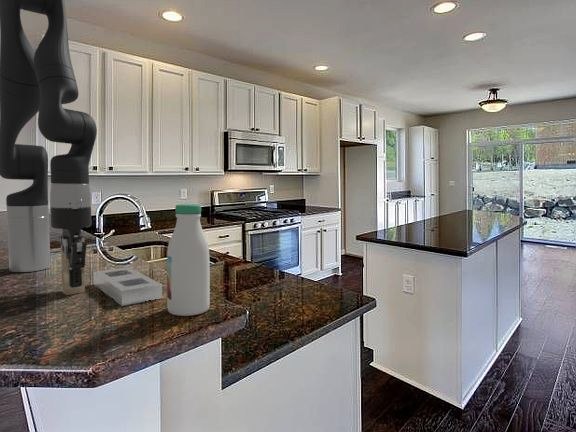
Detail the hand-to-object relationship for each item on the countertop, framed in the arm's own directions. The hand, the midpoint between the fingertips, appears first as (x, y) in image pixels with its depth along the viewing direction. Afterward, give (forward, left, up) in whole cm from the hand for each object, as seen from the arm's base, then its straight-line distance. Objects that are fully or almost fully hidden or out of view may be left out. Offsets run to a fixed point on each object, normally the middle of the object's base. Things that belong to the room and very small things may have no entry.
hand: (73, 284), depth 81 cm
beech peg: (0, 0, -2) cm, 2 cm away
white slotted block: (+6, +9, -2) cm, 11 cm away
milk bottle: (+26, +14, -2) cm, 30 cm away
